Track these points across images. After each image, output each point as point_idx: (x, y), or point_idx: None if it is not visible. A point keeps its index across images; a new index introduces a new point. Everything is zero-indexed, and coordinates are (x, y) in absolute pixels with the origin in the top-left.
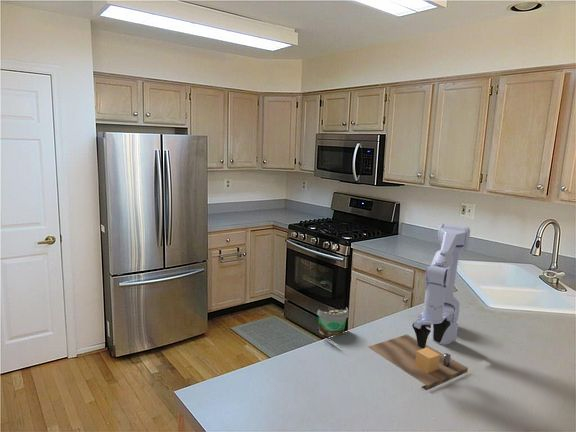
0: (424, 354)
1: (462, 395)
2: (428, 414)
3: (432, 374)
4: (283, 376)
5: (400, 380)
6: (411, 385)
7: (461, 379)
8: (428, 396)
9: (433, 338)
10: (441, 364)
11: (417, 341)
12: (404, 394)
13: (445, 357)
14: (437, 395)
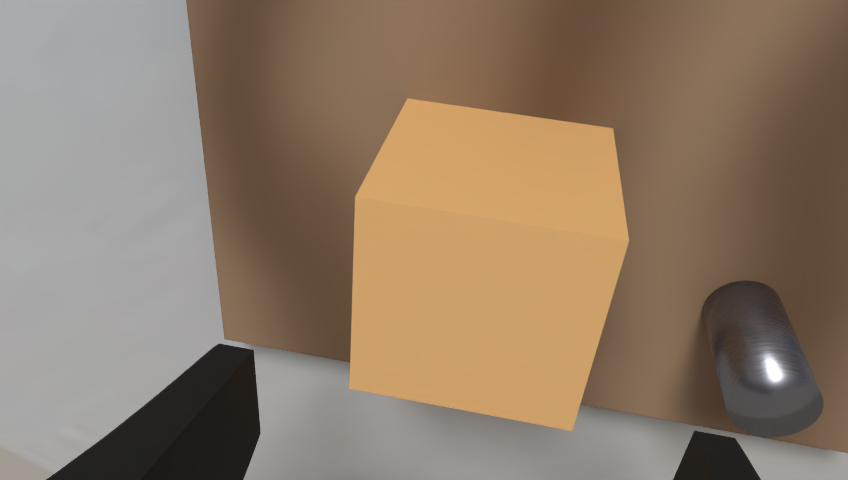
0: (380, 311)
1: (438, 475)
2: (64, 410)
3: None
4: None
5: (125, 102)
6: (172, 206)
7: (657, 419)
8: (198, 346)
9: (703, 454)
10: (707, 278)
11: (158, 398)
12: (33, 231)
13: (724, 383)
14: (271, 379)
